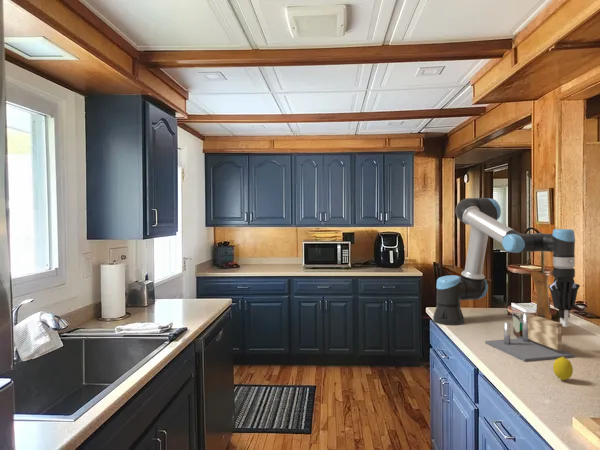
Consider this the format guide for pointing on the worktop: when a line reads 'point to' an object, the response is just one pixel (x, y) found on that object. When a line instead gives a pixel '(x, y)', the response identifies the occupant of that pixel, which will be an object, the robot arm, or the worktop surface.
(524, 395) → the worktop surface
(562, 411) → the worktop surface
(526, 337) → the posts
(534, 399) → the worktop surface
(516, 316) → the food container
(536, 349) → the mat
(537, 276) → the pancake mix bag
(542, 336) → the light wood flat slab
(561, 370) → the lemon
